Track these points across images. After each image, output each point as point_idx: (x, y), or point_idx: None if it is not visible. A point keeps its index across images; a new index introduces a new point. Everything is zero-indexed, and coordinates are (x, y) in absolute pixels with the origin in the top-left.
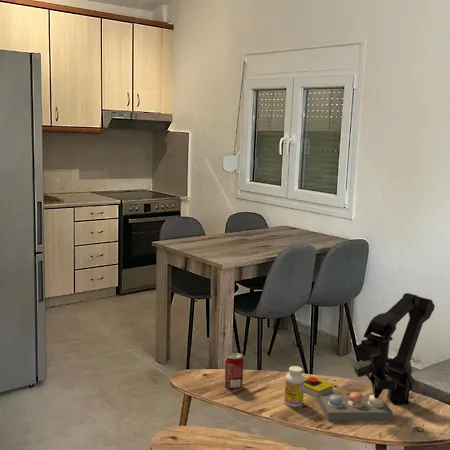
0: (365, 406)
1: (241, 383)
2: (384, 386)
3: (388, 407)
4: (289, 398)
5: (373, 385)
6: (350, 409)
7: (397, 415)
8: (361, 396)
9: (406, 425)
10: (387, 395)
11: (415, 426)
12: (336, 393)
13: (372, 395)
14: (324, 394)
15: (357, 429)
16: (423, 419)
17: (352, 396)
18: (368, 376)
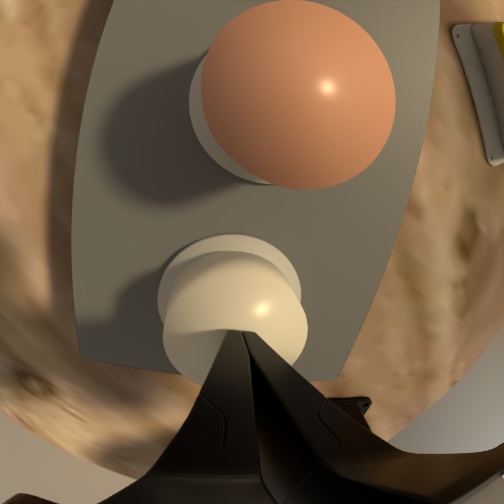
0: (198, 182)
1: None
2: None
3: (157, 367)
4: None
5: (294, 437)
6: (171, 1)
7: (165, 375)
8: (231, 138)
9: (55, 358)
10: (369, 401)
11: (54, 386)
12: (491, 158)
13: (293, 329)
14: (491, 77)
15: (25, 37)
16: (125, 439)
17: (263, 4)
18: (466, 498)
